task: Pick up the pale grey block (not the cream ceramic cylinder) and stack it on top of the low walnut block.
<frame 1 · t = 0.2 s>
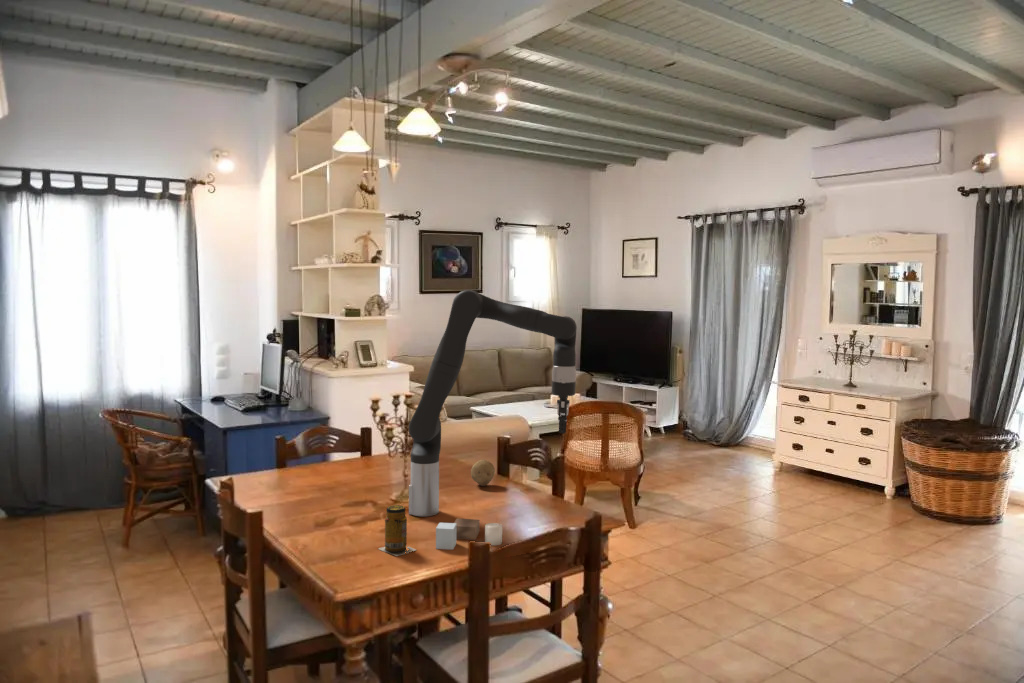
hand: (562, 430, 235), 29 cm above the table, fingers open, 8 cm apart
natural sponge: (482, 486, 274), on the table
condiment: (397, 550, 208), on the table
walnut block: (465, 535, 221), on the table
pale grey block: (446, 546, 212), on the table
cream cylinder: (493, 542, 215), on the table
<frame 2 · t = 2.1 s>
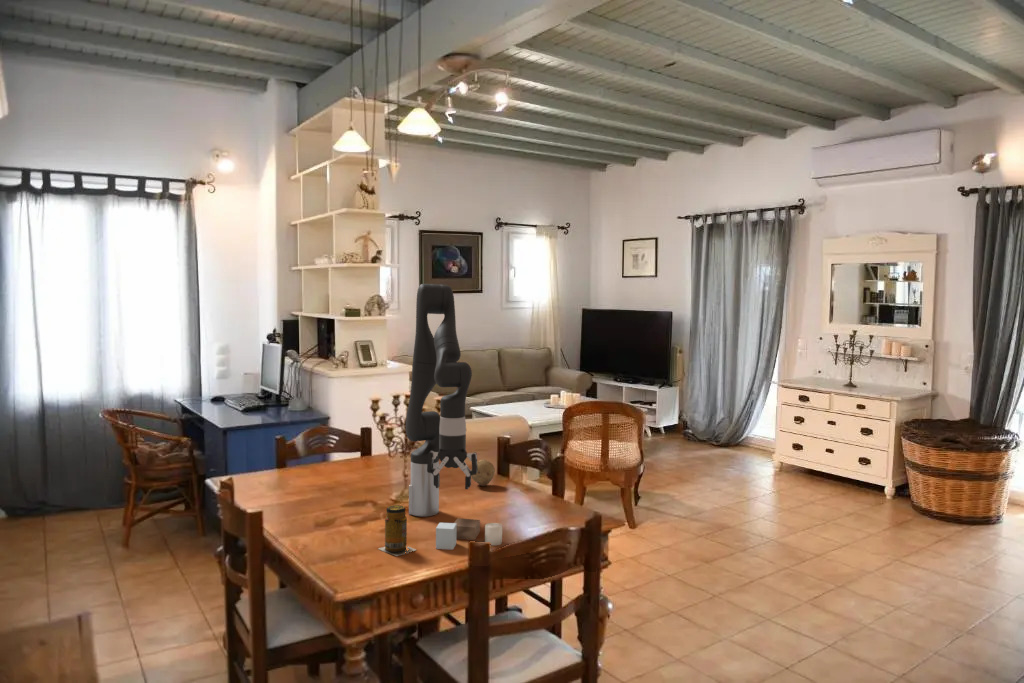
hand: (452, 488, 211), 17 cm above the table, fingers open, 8 cm apart
nothing on the table moved.
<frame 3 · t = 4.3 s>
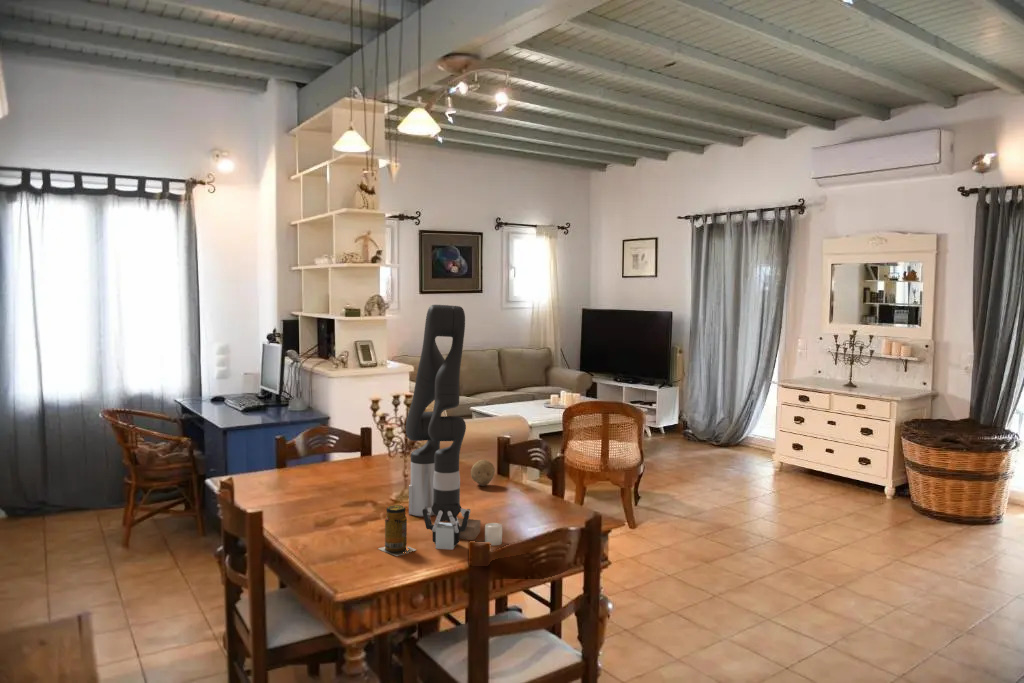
hand: (446, 543, 212), 1 cm above the table, fingers closed on pale grey block, 5 cm apart
pale grey block: (446, 546, 212), on the table, touching gripper
everything else where it was.
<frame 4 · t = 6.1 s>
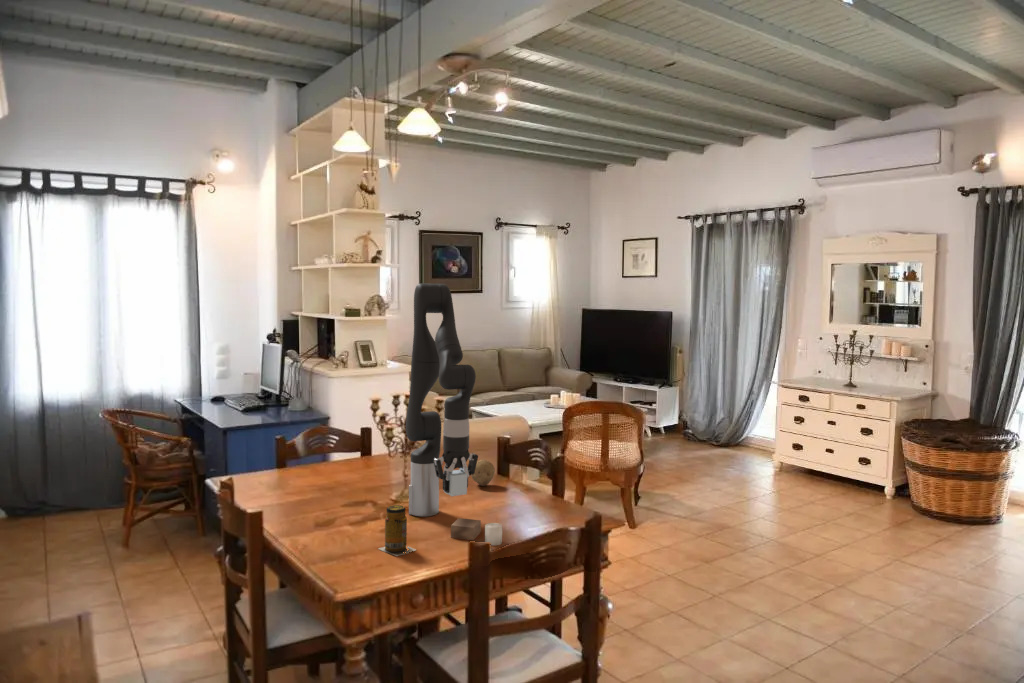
hand: (455, 490, 215), 15 cm above the table, fingers closed on pale grey block, 5 cm apart
pale grey block: (455, 492, 215), point 14 cm above the table, touching gripper
everything else where it was.
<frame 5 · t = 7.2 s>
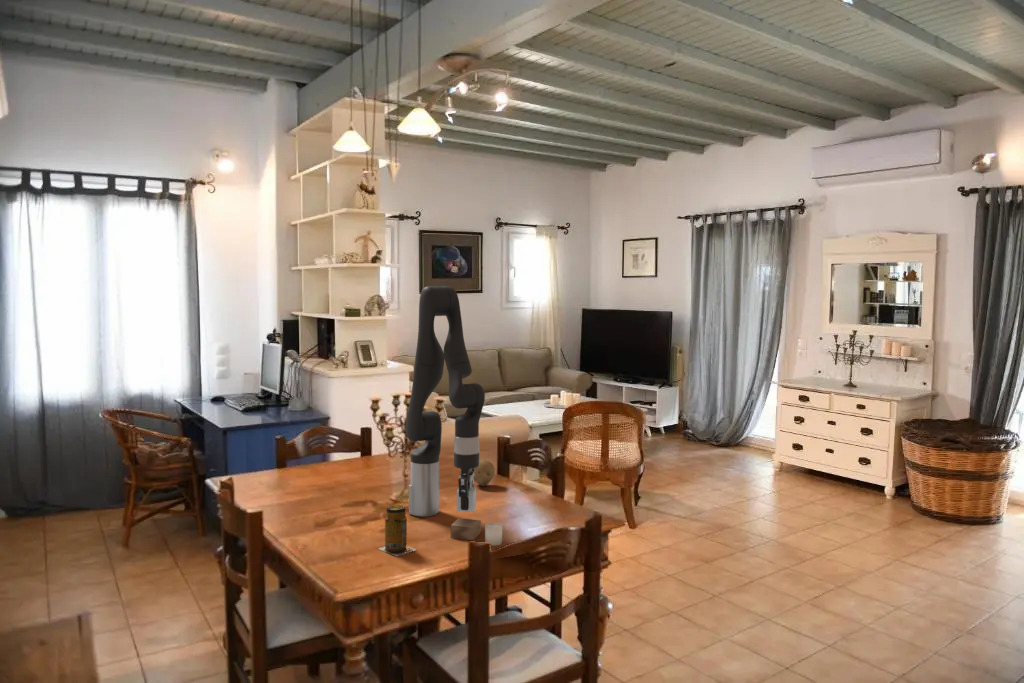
hand: (466, 506, 220), 9 cm above the table, fingers closed on pale grey block, 5 cm apart
pale grey block: (466, 509, 220), point 8 cm above the table, touching gripper
everything else where it was.
when the fingers open (6 cm above the table, at t = 8.2 s): pale grey block drops 1 cm, resting on walnut block.
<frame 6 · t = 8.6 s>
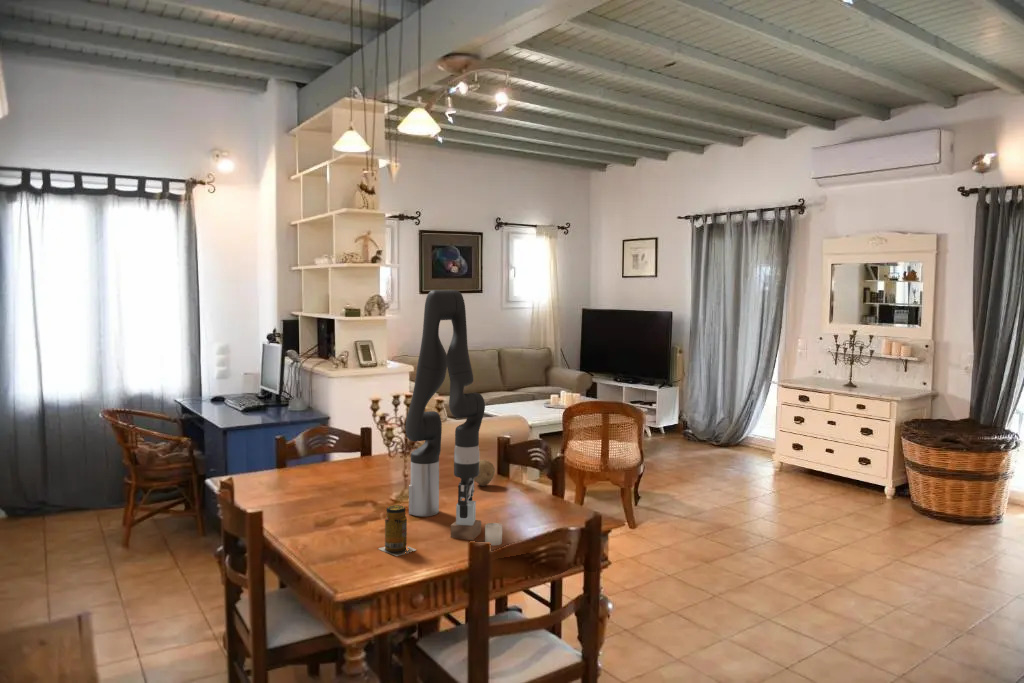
hand: (466, 513, 221), 7 cm above the table, fingers open, 8 cm apart
walnut block: (465, 535, 221), on the table, touching pale grey block
pale grey block: (465, 522, 221), point 4 cm above the table, touching walnut block
everything else where it was.
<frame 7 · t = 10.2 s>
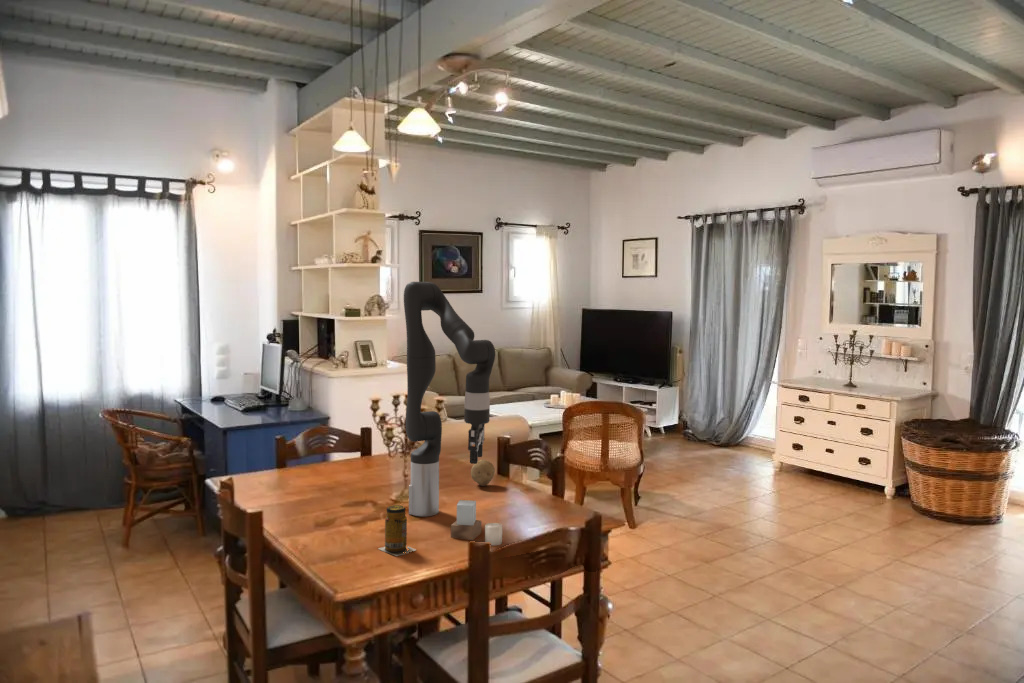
hand: (476, 460, 222), 22 cm above the table, fingers open, 8 cm apart
walnut block: (466, 535, 221), on the table
pale grey block: (466, 522, 221), point 4 cm above the table
everything else where it was.
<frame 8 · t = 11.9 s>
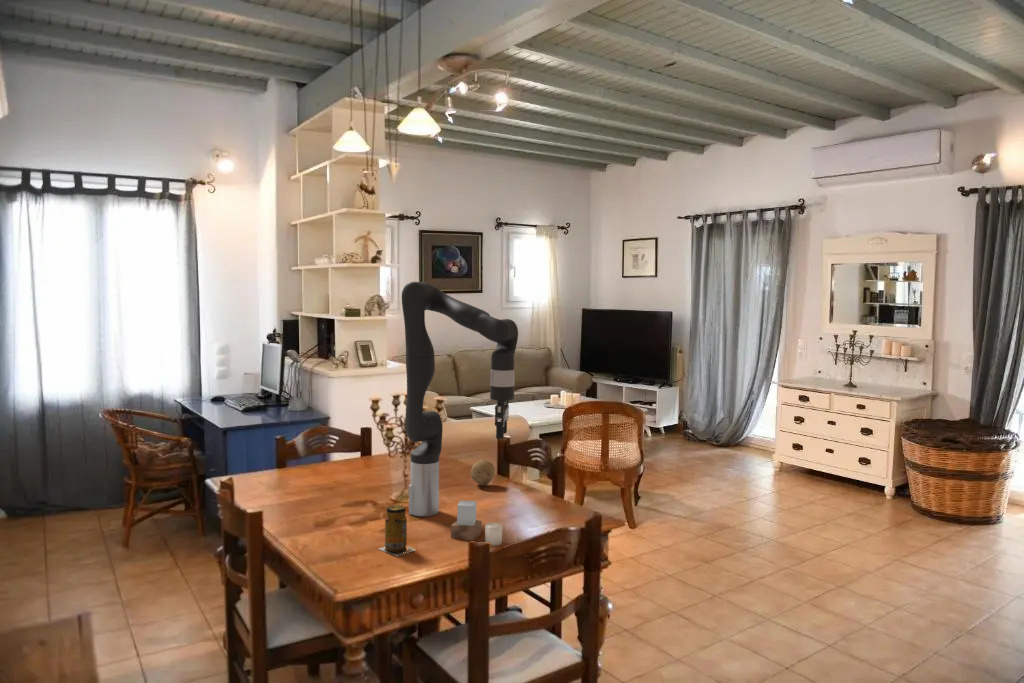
hand: (501, 435, 229), 28 cm above the table, fingers open, 8 cm apart
walnut block: (466, 536, 221), on the table, touching pale grey block
pale grey block: (466, 522, 221), point 4 cm above the table, touching walnut block
everything else where it was.
at the end: pale grey block 0.2 cm off-centre on the walnut block, point 4.0 cm above the walnut block's base; pale grey block tilted 0°; the gripper is holding nothing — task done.
